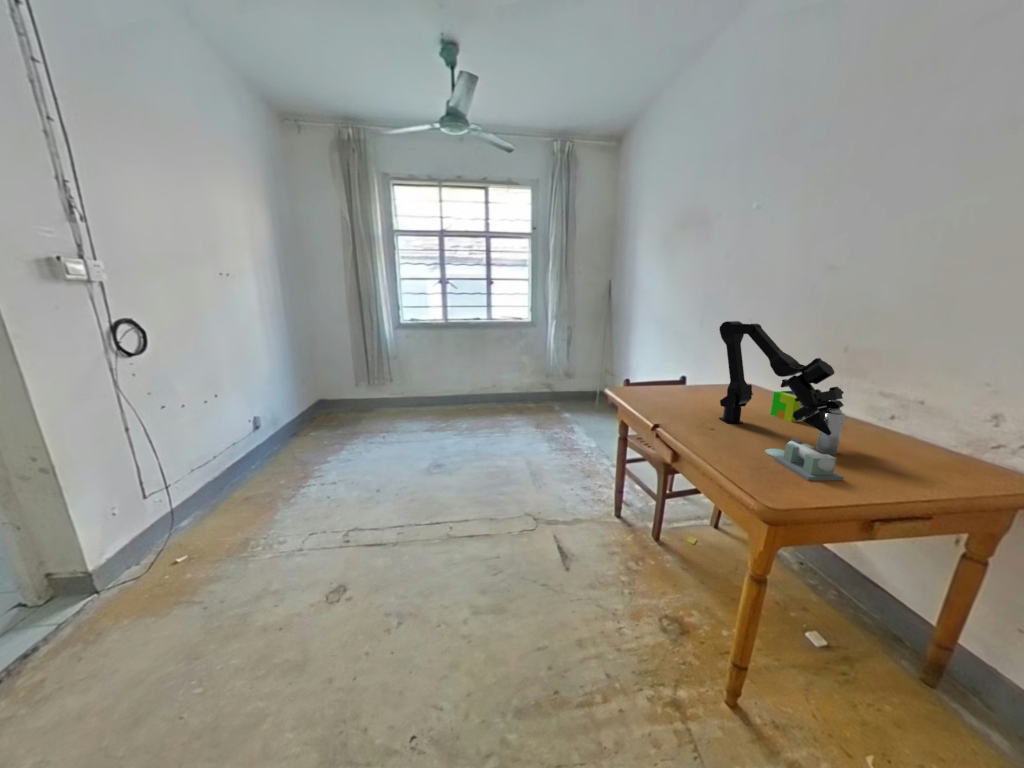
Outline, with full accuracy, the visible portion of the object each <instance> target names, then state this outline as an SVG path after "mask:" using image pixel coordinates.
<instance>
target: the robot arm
mask: <svg viewBox="0 0 1024 768" xmlns="http://www.w3.org/2000/svg"><path fill="white" fill-rule="evenodd" d="M718 330H719V334H720V337H721V340H722V341H723V343H724V344H725V347H726V355H727V356H726V357H727V363H728V373H729V379H730V380H729V384H728V387H727V389H726V396H724V397H723V398H722V399H720V400H719V403H720V407H723V415H722V416H721V417H718V419H719V420H721V421H722V422H724V423H726V424H744V421H742V420H741V415H742V407H746V406H747V404H748V403H749V402H750V401H751V400H752V398H753V397H752V396H753V395H754V393H753V386H752V383H751V384H748V383H747V382H746V380H745V372H744V371H745V370H744V362H743V354H742V345H741V344H742V341H743V339H744V336H745V335H748V336H749V337H750V339H751V340H752V341H753V342H754V343H755V344H756V346H758V348H759V349H760V351H762V353H763V354H764V355H765V356H766V357H767V358H768V361H769V366H770V368H771V369H772V371H773V373H774V374H775V375H776V376H777V377H782V378H785V377H789V378H788V379H787V378H785V379H782V380H781V383H780V388H789V389H790V391H792V392H793V393H794V395H795V396H796V397H797V398H796V399H795V401H796V402H800V403H801V404H802V406H803V407H802V408H800V409H798V410H796V411H795V412H793V418H794V419H795V420H796V421H798V420H802V418H803V417H805V418H806V419H804V420H803V421H802V422H803V423H806V424H808V425H809V426H811V427H813V428H815V429H817V430H818V431H822V432H823V433H825V434H827V435H830V434H831V431H830V429H829V428H828V426H827V424H826V422H825V421H824V419H823V411H825V410H827V409H828V408H834V409H839V410H841V408H843V407H844V406H845V405H844V403H843V402H842V399H844V398H843V394H844V391H843V390H842V388H840V387H839V386H833V387H832V386H831V387H830V388H829V390H827V391H826V390H824V391H822V390H821V389H818V388H816V389H815V387H814V386H813V385H812V384H814V385H818V384H820V383H821V382H823V381H825V380H827V379H828V378H830V377H832V376H833V375H835V370H834V368H833V367H832V366H831V364H829V363H828V362H826V361H824V360H823V359H821V358H820V357H816V358H814V359H813V360H812V361H810V363H807V365H805V364H801V363H800V362H799V361H798V360H796V358H794V357H793V356H792V355H789V354H788V353H785V351H783V350H782V349H781V348H780V347H779V346H778V344H776V343H775V342H774V340H773V339H772V338H771V336H769V335H768V334H767V332H765V330H764V328H762V326H761V324H759V323H743V322H741V321H738V320H733V321H732V320H731V321H729V320H727V321H723V322H722V323H721V325H720V326H719V329H718ZM797 374H799V375H797Z"/></svg>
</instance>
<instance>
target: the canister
mask: <svg viewBox="0 0 1024 768" xmlns="http://www.w3.org/2000/svg"><path fill="white" fill-rule="evenodd" d="M845 417H846V414H845V413H844V412H842V410H841V409H840V410H839V409H834V408H828V409H827V410H825V411H823V419H824V421H825V422H826V424H827V426H828V428H829V429H830V431H831V434H830V435H827V434H825V433H823V432H822V431H820V430H818V431H819V432H818V436H817V442H816V447H815V451H817V452H819V453H820V454H829V455H831V456H832V455H833V456H834V455H838V452H839V447H840V446H839V445H840V441H841V436H842V432H843V431H842V430H843V426H844V421H845V419H846V418H845Z"/></svg>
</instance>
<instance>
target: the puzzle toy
mask: <svg viewBox="0 0 1024 768" xmlns="http://www.w3.org/2000/svg"><path fill="white" fill-rule="evenodd" d="M796 398H797V397H796V396H795V395H794V393H793V392H792V390H781V391H773V396H772V402H771V407H770V415H771V416H773V417H777V418H778V419H781V420H784V421H787V422H790V423H794V422H795V423H797V422H803V420H804V419H806V418H805V417H803V418H802V420H798V421H796V420H795V419H794V418H793V412H795V411H796V410H798V409H800V408H802V407H803V406H802V404H801V403H800V402H796V401H795V399H796Z"/></svg>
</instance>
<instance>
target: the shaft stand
mask: <svg viewBox="0 0 1024 768" xmlns="http://www.w3.org/2000/svg"><path fill="white" fill-rule="evenodd" d="M784 450H785V452H784V457H773V461H775V462H777V463H778V464H780V465H781V466H783V467H785V468H786V469H788V470H790V471H792V472H793V473H795V474H796V475H798V476H800V477H801V478H803V479H805V480H806V481H808V482H810V481H811V482H812V481H814V482H815V481H817V482H818V481H844V478H845V477H844V476H843V475H841V474H839V473H838V472H835V467H836V462H837V458H836V457H835V456H834V455H833V456H832V455H830V454H825V453H821V452H819V451H817V450H816V449H815V446H812V445H810V444H809V443H802V441H801V440H799V439H797V438H795V437H792V438H791V440H790V441H788V442H787V443H786V444H785V447H784Z"/></svg>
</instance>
